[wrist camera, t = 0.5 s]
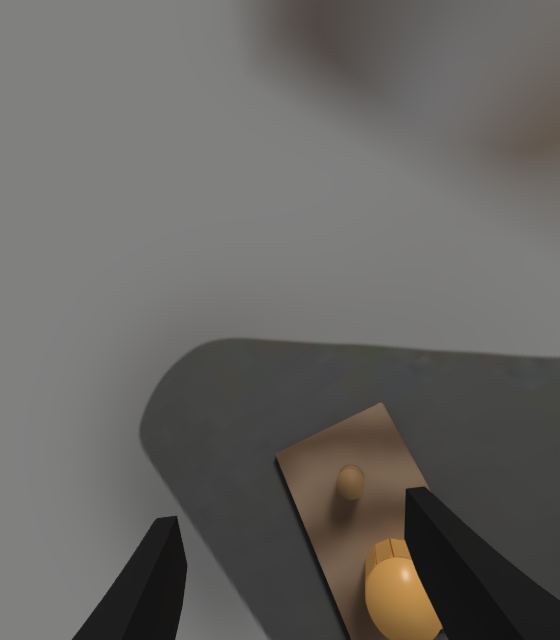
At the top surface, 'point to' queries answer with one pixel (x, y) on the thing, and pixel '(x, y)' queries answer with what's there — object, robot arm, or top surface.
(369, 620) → the post board
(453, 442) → the top surface
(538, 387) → the top surface
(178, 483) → the top surface
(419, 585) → the grooved orange cylinder
